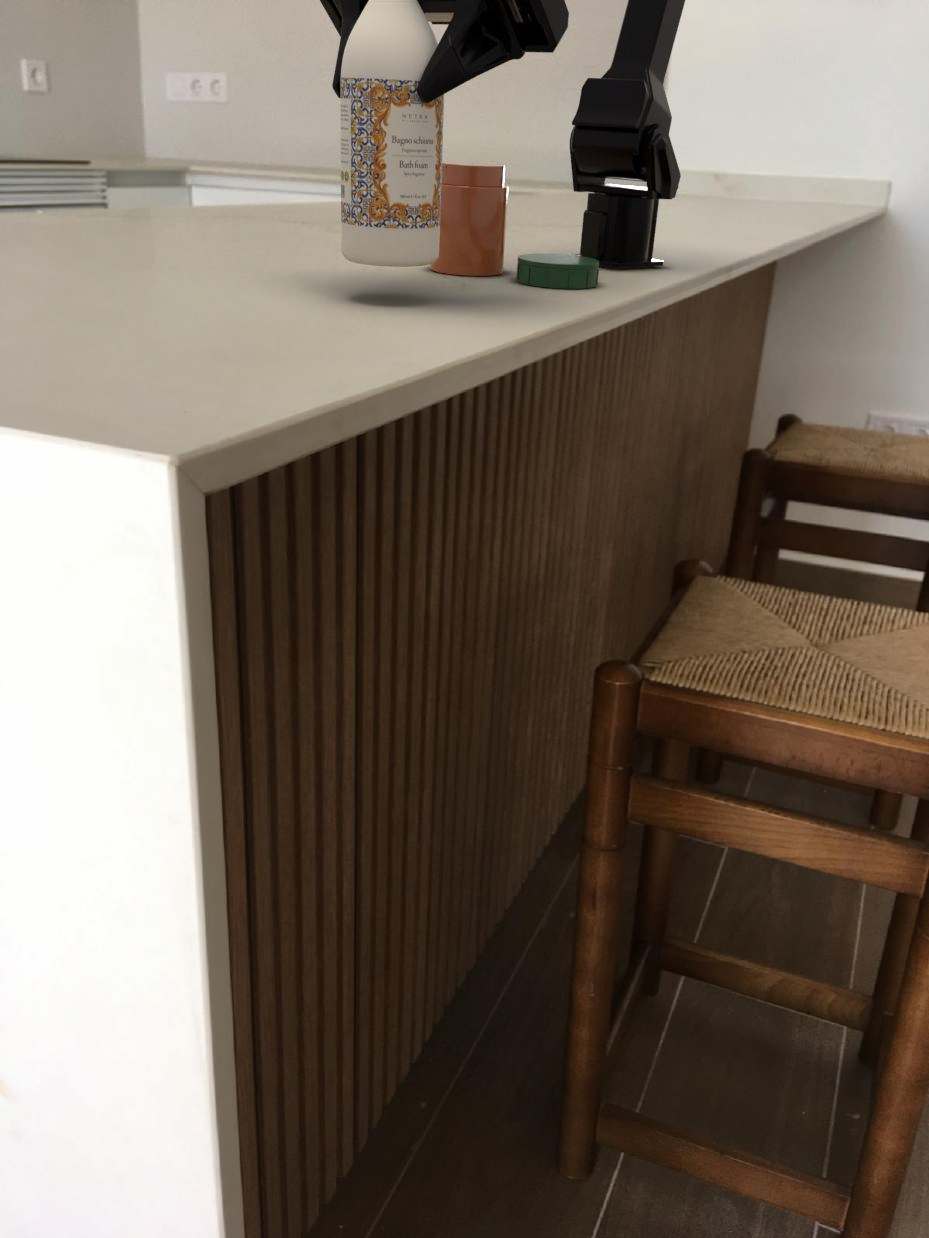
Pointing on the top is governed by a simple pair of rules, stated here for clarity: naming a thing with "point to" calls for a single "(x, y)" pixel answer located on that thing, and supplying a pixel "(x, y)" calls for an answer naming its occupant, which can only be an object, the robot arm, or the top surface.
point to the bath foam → (390, 139)
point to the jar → (472, 219)
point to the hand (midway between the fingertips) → (377, 95)
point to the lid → (557, 271)
